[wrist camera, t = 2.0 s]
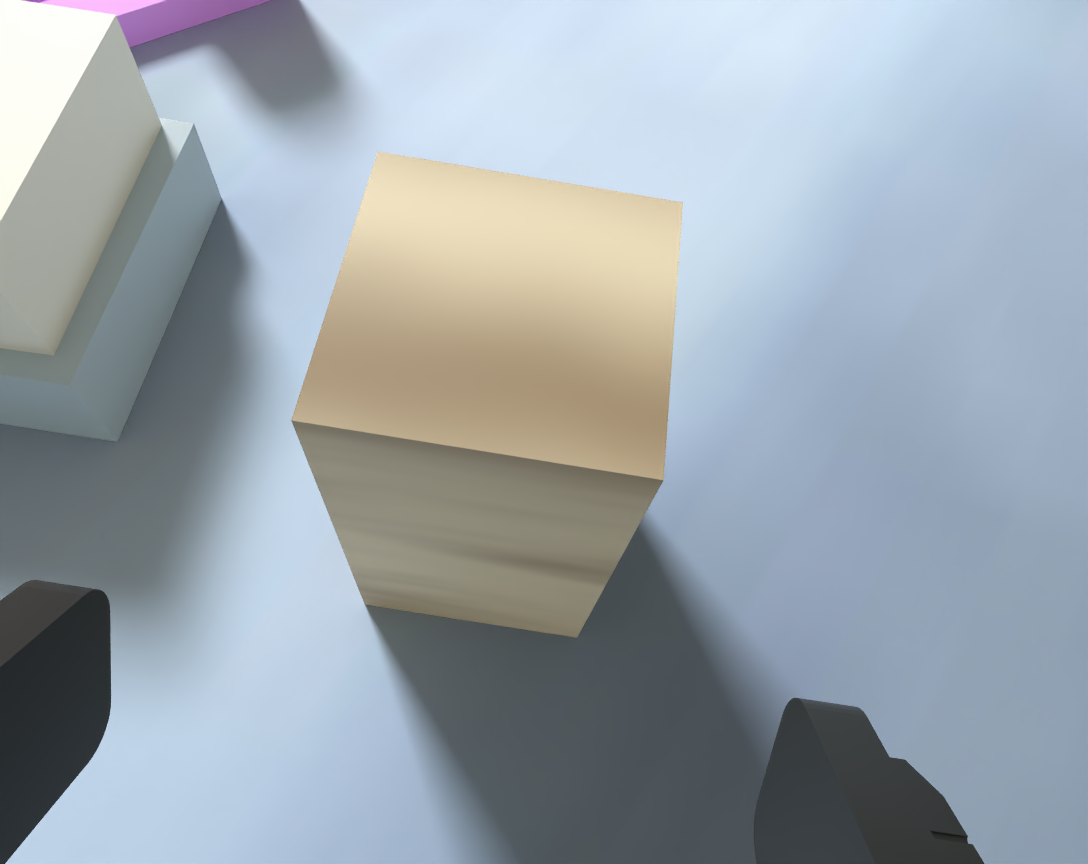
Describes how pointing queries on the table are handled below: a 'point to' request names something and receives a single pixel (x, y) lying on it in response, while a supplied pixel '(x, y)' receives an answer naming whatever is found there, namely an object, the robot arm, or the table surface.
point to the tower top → (62, 159)
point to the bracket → (157, 14)
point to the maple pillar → (493, 390)
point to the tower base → (120, 300)
